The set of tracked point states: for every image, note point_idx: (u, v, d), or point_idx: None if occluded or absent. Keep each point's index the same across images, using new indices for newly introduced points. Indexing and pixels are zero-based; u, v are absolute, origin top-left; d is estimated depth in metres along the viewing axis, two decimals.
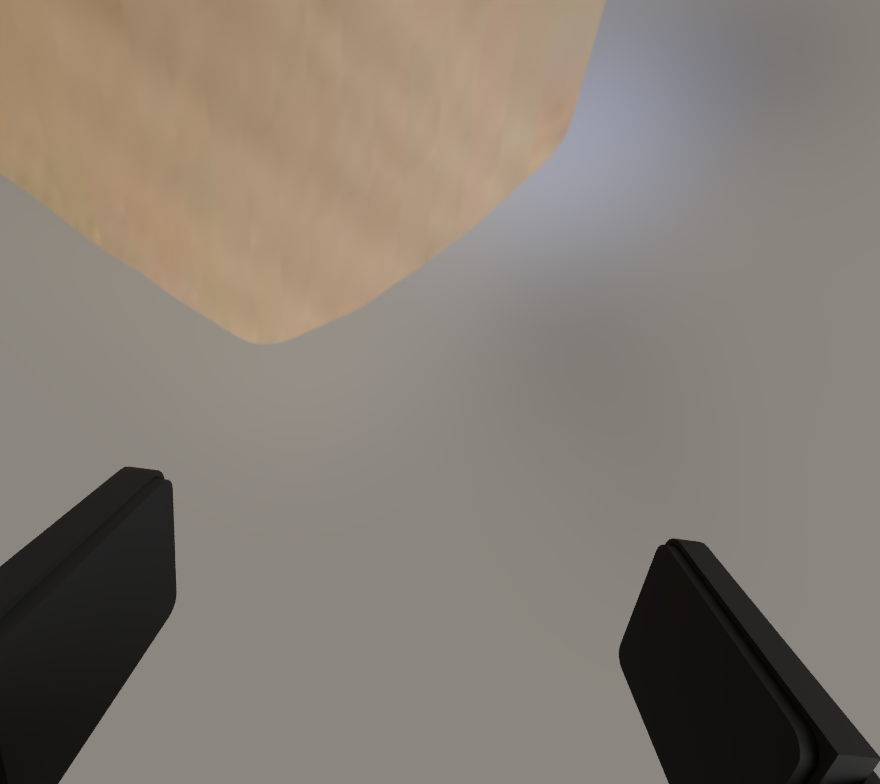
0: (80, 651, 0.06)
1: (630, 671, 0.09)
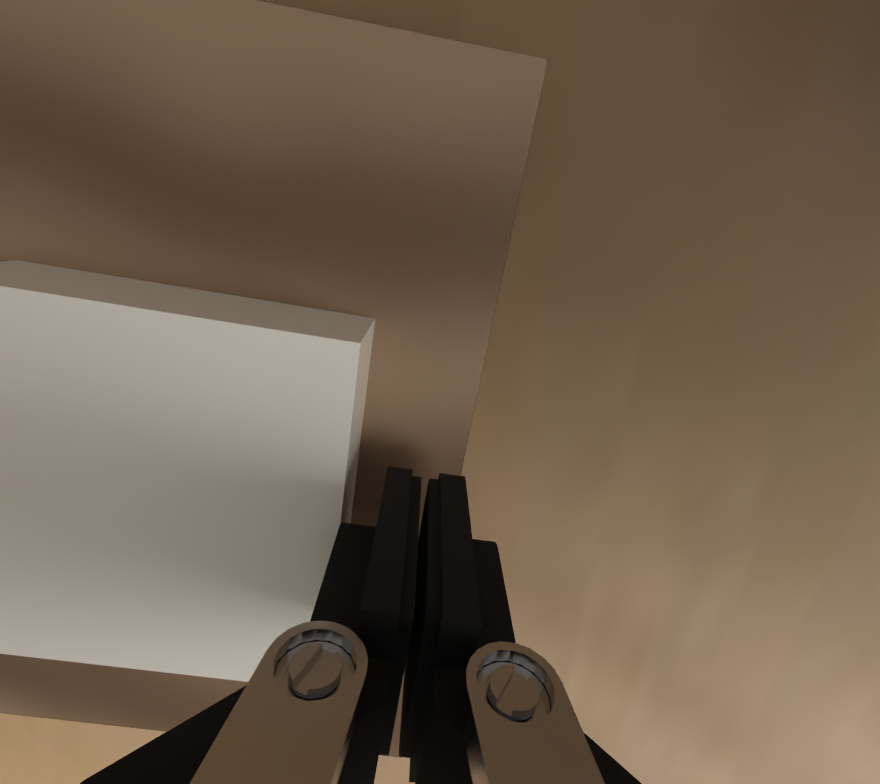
0: None
1: None
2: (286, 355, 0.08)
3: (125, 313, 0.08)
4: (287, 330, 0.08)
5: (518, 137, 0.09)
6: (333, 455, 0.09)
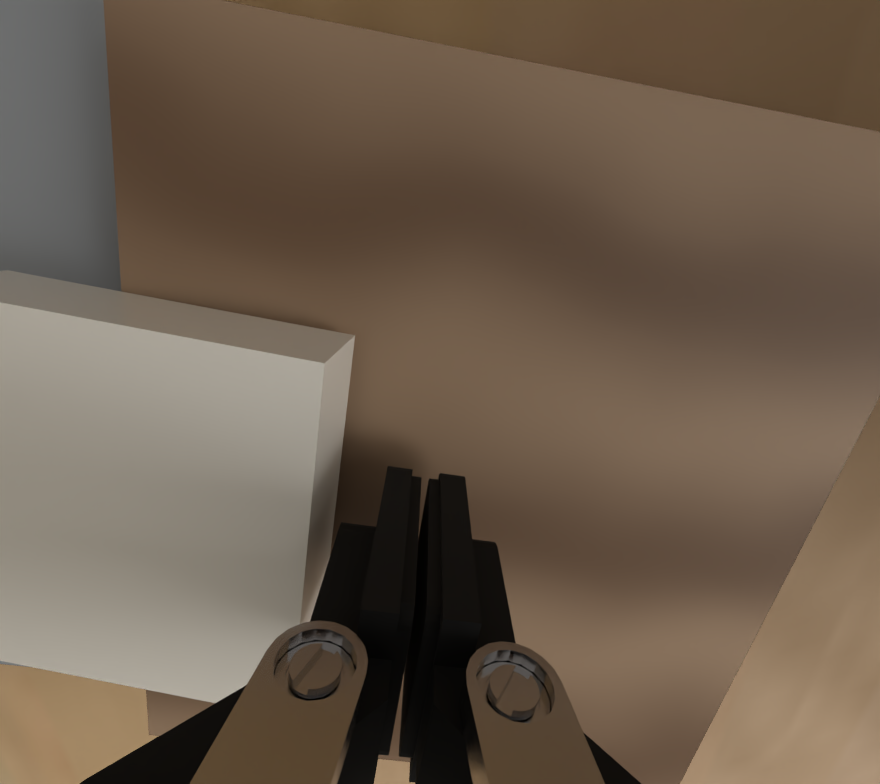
0: None
1: None
2: (250, 373, 0.08)
3: (91, 327, 0.08)
4: (250, 347, 0.08)
5: None
6: (299, 477, 0.08)
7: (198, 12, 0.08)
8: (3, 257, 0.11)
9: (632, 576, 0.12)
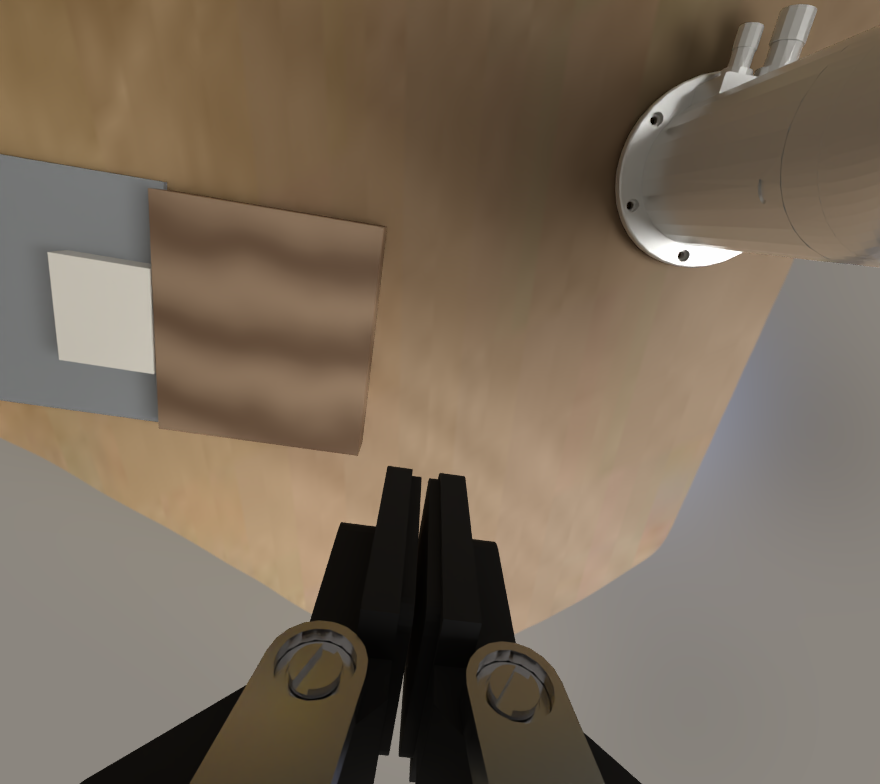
0: None
1: None
2: (132, 271, 0.34)
3: (95, 261, 0.34)
4: (132, 265, 0.34)
5: (378, 245, 0.34)
6: (146, 297, 0.35)
7: (171, 195, 0.33)
8: (112, 256, 0.36)
9: (317, 359, 0.37)
